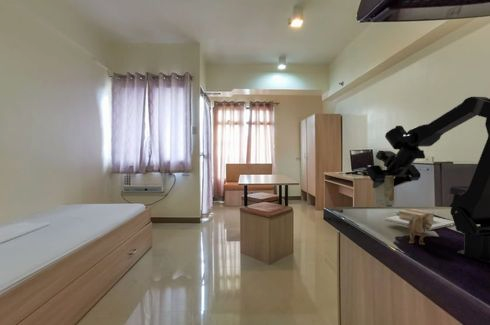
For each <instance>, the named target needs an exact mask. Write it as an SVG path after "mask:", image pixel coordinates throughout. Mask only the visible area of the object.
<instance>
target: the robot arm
mask: <svg viewBox="0 0 490 325" xmlns="http://www.w3.org/2000/svg"><path fill="white" fill-rule="evenodd" d="M476 116H478V117H482V118H485V123H484V124H485V125H484V126H485V129H486V132H487V139H486V141H485V144H484V146H483V150H482V152H481V154H480V156H479V160H478V162H477V165H476V167H475V170H474V172H473V175H472V177H471V180H470V182H469V185H468V188H467V190H465V191H464V192H457V193H456V192H455V193H454V195H453V198H452V202H451V204H450V205H449V207H450V215H451V217H452V221H454V224H455V225H454V226H455V230H456V231H457V232H460V233H461V234H464V235H463V236H464V237H463V238H464V239H463V250H458V251H457V254H458V255H461V256H464V257H468V258H470V259H474V260H478V261H481V262H483V263H490V98H489V97H487V96H469V97H466V98H465V99H464V100H463V101H462V102H461V103H459V104H457V105H456V106H454V107H453V108H451V109H450V110H448V111H447V112H445V113H443V114H442V115H440V116H438V117H437V118H436V119H433V120H432V121H431V122H428V123H426V124H421V125H418V126H416V127H413V128H411V129H409V130H408V131H406V130H405V128H404V126H403V125H395V127H394V128H391V129H390V130H388V131H387V132H386V133H385V135H384V137H385V139H386V140H387V142H388V143H389V144H390V146H391V147H392V149H394V150H398V151H397V152H393V151H390V150H378V152H376V155H375V158H376V159H377V160H379V161H382V162H383V166H384V167H385V168H386V169H383V168H382V167H381V166H380V165H378V164H376V165H367V167H366V169H365V171H366V173H367V175H368V176H369V178H370V180H371V181H372V188H373V189H375V188H376V187H378V186H379V185H381V184H382V183H384V182H385V181H384V179H385V176H393V177H394V188H395V187H398V186H401V185H403V184H407V183H411V182H412V181H413V182H414V181H419V179H421V173H420V171H419V170H418V169H417V167H416V166H415V164H413V163H414V162H415V160H417V159H418V160H420V159H423V160H424V159H426V154H425V151H424V149H423V150H421V149H420V147H423V148H424V147H426V148H427V147H431V146H433V145H434V144H435V143H437V142H439V140H440V139H441V137H442V135H444V134H445V133H447V132H449V131H452V130H453V129H454V128H456V127H458V126H460V125H461V124H464V123H465V122H467V121H469V120H471V119H473V118H474V117H476Z"/></svg>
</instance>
